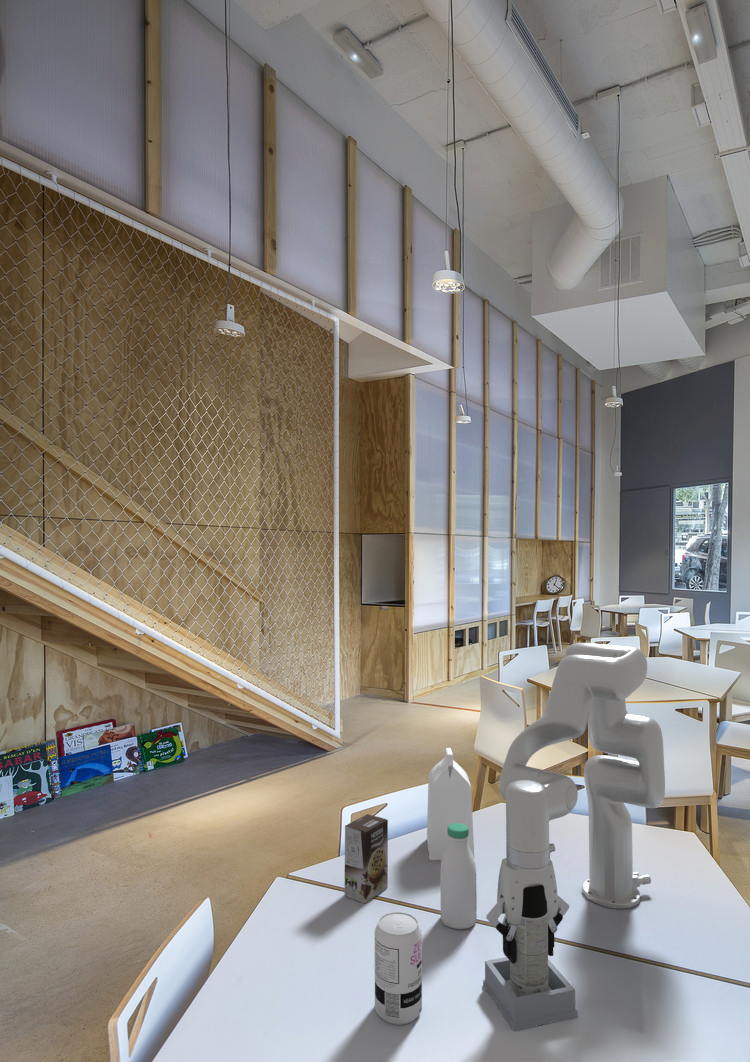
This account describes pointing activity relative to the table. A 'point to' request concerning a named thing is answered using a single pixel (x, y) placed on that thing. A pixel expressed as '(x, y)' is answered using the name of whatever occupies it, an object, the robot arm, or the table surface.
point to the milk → (447, 804)
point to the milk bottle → (458, 880)
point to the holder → (529, 997)
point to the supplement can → (398, 968)
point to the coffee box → (366, 857)
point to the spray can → (531, 945)
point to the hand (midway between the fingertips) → (528, 954)
